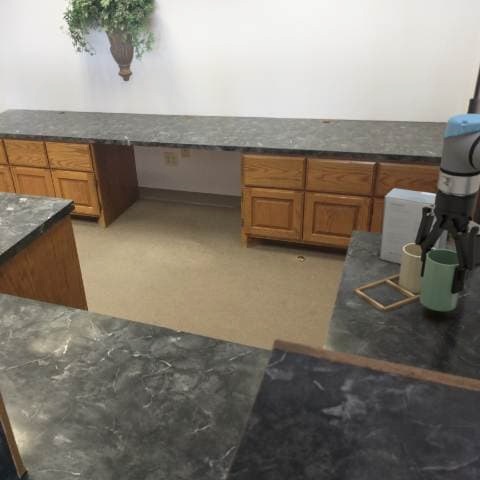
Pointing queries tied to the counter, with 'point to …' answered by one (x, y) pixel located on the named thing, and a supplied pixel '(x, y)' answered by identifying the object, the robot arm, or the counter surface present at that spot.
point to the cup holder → (395, 286)
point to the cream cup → (411, 268)
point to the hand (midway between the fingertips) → (441, 283)
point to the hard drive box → (404, 222)
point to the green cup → (439, 280)
